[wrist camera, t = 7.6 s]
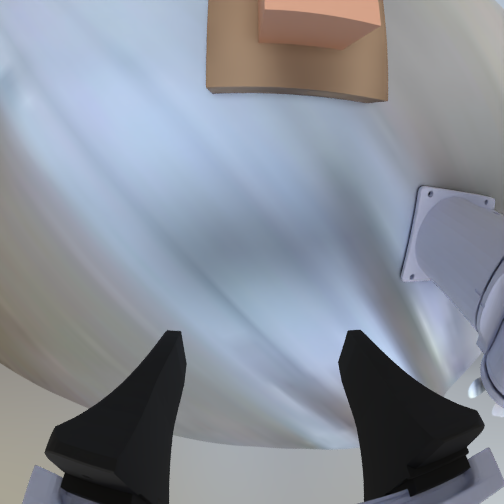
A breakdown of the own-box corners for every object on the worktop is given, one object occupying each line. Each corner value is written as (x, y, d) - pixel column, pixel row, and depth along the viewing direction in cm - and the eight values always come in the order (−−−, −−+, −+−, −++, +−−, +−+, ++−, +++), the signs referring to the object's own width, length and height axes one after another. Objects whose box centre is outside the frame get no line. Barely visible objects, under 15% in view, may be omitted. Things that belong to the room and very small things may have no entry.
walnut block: (359, -16, 12) (377, -34, 9) (364, 103, 16) (387, 101, 13) (217, -29, 12) (212, -52, 9) (213, 94, 16) (206, 87, 13)
